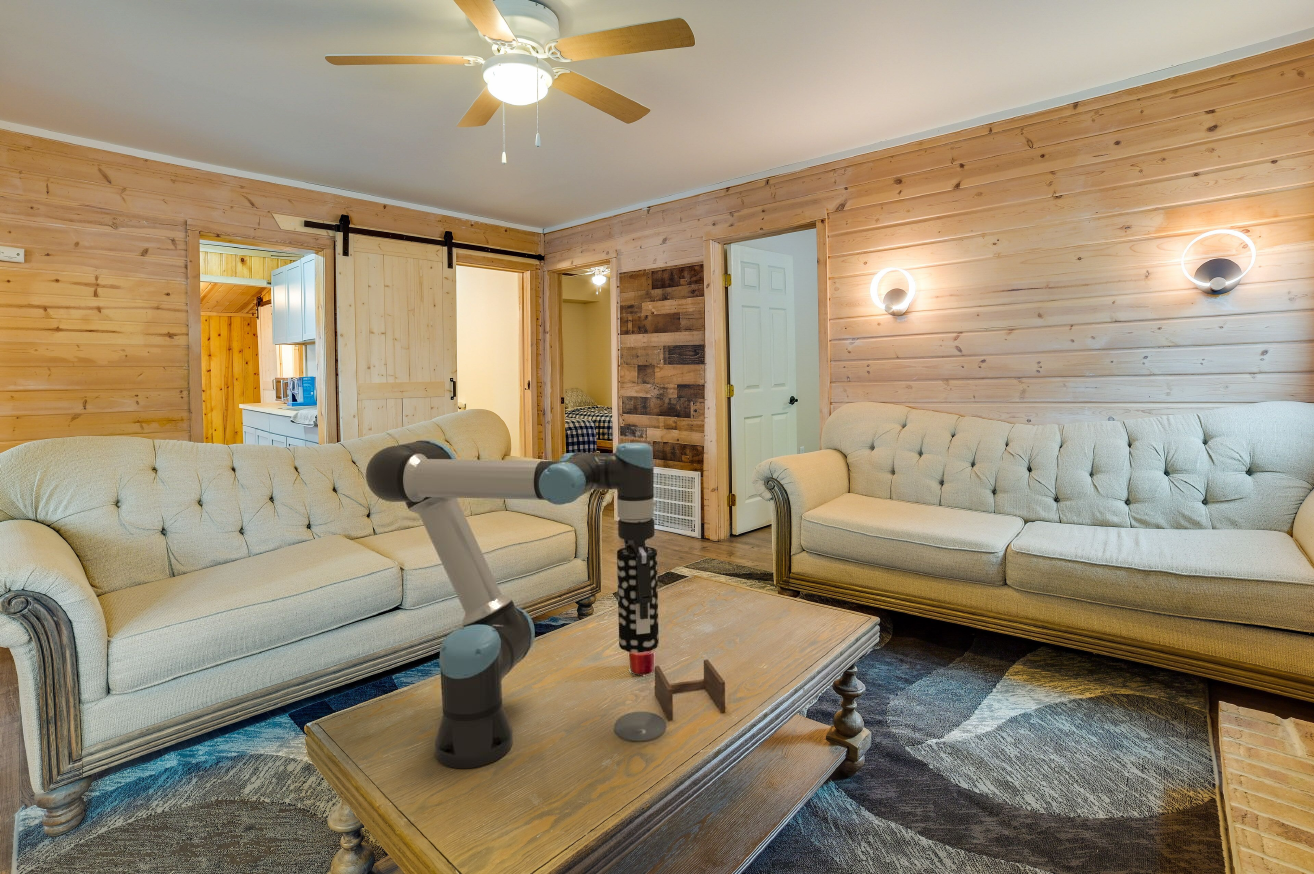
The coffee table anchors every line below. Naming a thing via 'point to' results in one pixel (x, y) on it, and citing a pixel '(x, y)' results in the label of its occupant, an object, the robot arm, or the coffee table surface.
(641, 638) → the spotted tube
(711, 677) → the rack
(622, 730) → the coaster
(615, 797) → the coffee table surface
